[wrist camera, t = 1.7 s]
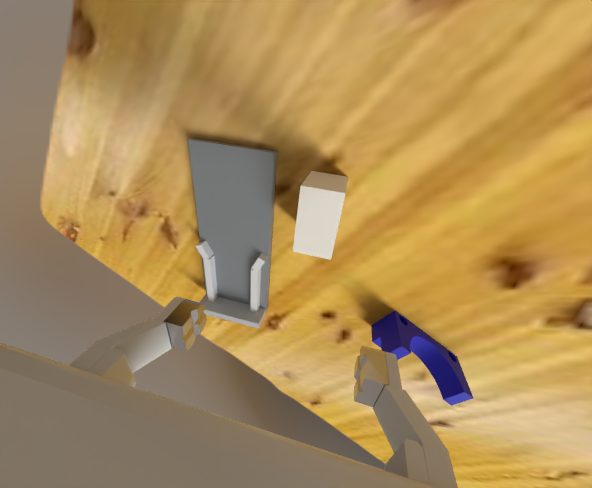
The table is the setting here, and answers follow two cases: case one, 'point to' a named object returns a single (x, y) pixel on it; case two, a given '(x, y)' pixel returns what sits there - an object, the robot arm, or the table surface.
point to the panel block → (319, 213)
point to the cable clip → (423, 354)
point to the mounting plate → (234, 226)
